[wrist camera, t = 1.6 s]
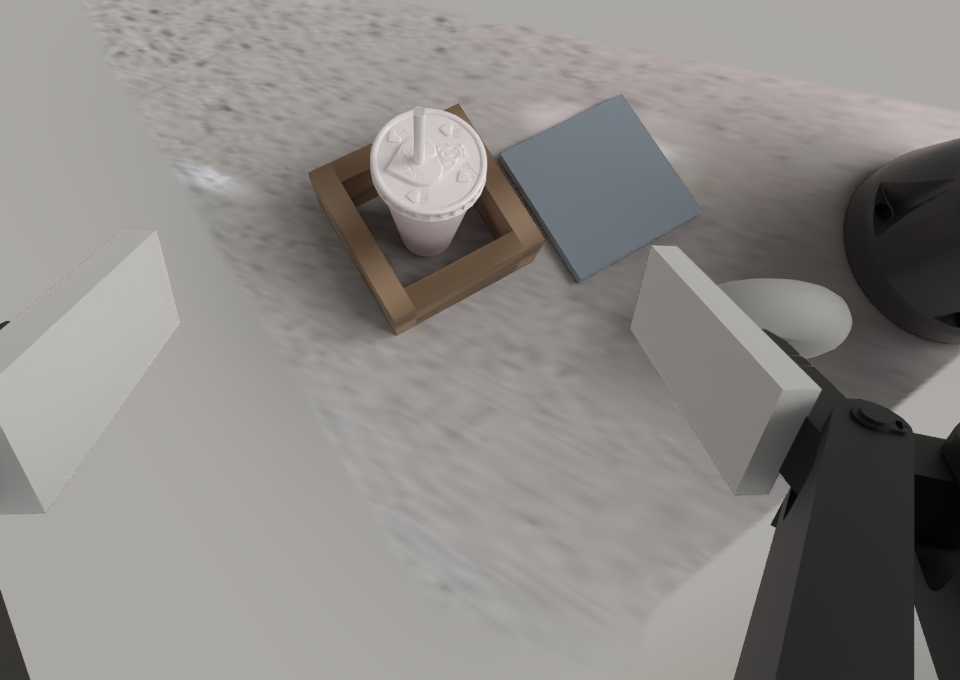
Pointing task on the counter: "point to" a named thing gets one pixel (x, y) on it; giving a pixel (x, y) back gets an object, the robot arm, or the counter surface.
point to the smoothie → (428, 175)
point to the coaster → (599, 186)
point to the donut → (794, 312)
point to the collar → (409, 306)
